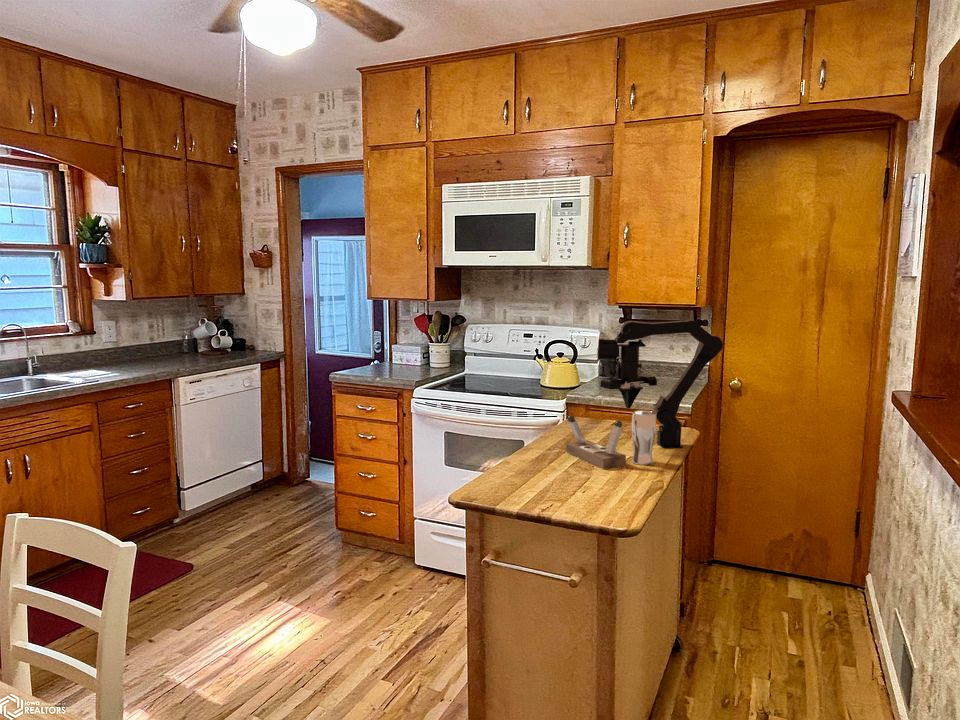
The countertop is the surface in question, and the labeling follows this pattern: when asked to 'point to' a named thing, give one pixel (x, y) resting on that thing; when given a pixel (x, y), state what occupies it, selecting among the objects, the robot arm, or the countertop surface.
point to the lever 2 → (614, 437)
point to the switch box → (596, 454)
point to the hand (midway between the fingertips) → (628, 408)
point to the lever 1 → (576, 429)
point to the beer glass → (643, 436)
